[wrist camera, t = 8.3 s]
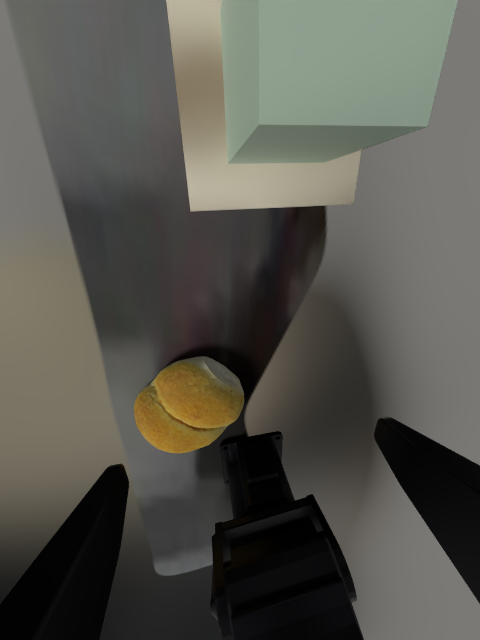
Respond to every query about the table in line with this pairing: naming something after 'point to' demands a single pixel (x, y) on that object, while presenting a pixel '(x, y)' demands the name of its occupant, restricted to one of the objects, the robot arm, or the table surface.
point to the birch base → (210, 131)
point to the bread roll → (188, 405)
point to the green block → (328, 74)
